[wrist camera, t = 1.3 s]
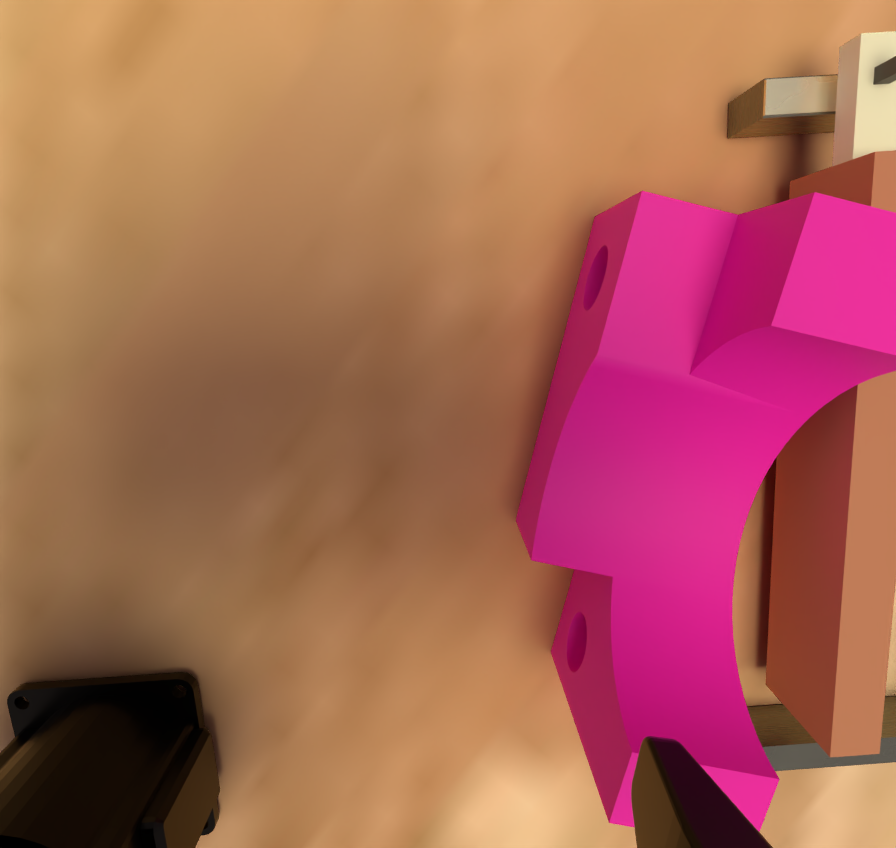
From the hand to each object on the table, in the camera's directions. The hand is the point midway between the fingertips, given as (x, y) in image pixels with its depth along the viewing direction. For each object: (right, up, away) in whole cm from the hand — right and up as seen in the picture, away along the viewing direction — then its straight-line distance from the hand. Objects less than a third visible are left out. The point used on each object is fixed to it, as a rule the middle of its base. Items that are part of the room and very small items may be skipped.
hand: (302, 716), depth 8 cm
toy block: (+8, +3, +13) cm, 15 cm away
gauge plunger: (+13, +4, +11) cm, 18 cm away
